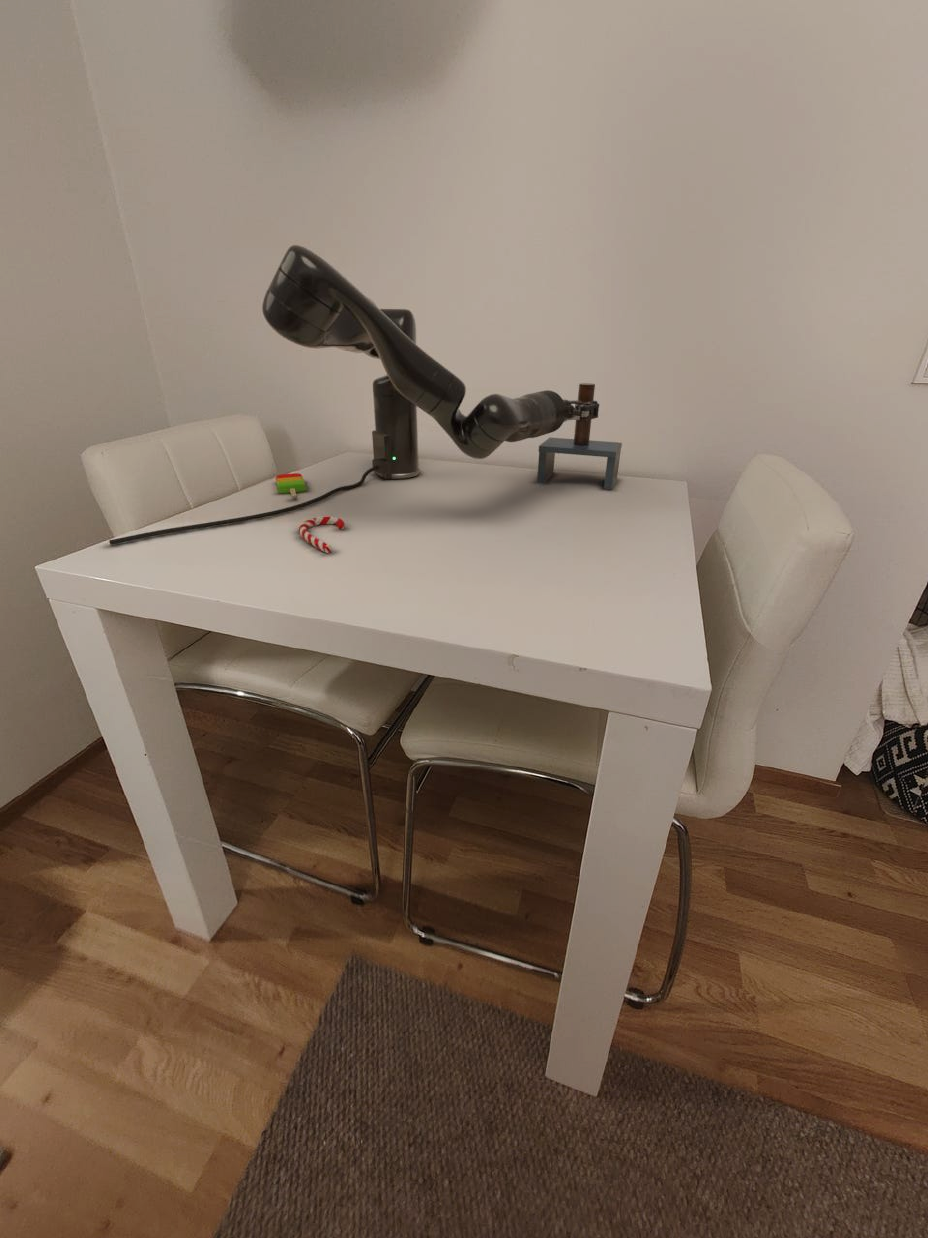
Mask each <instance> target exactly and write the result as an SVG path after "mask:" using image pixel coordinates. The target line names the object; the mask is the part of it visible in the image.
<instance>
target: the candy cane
mask: <svg viewBox="0 0 928 1238" xmlns="http://www.w3.org/2000/svg"><path fill="white" fill-rule="evenodd" d="M321 525H336V526H337V528H338V529H339V530H344V529H345V527H346V524H345V522H344V520H343V519H342V518H339V517H334V516H319V517H313V518H310V519H307V520H305V521H303V522H302V523H301V524H300V525H299V526H298V534H299V536H300V537H301V538H302V539H303V540H304V541H305V542H306V543H308V544H310V545H311V546H312V547H315V548H316V549H317V550H319V551H321V552H323V553H327V554H330V553H331V552H332V546H331V545H330V544H328V543H326V542H324V541H323V540H320V539H319V538H317V537H316V536H314V535H313V534H311V533H310V532H308V531H307V530H308V529H310V528H312V527H316V526H321Z"/></svg>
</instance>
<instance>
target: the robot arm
mask: <svg viewBox="0 0 928 1238" xmlns="http://www.w3.org/2000/svg"><path fill="white" fill-rule="evenodd" d="M261 310H262V311H261V312H262V315H263V317H264V320H265V321H266V323H267V324H268V325H269V326H270V328H271V329H272V330H273V331H275V332H276V333H277V334H278V335H279V336H281V337H282V338H283V339H285V340H287V341H289V342H291V343H293V344H296V345H298V346H301V347H304V348H307V349H328V348H329V349H330V348H336V349H340V350H343V351H346V352H350V353H356V354H362V353H363V354H364V355H367V356H368V357H369V358H373V359H377V360H380V363H381V365H382V367H383V369H384V371H385V373H386V374H384V375H382V376H379V377H376V378H375V379H373V381H372V393H373V394H372V396H373V410H374V411H373V413H374V427H375V430H372V431H371V436H372V438H371V439H372V452H373V459H372V462H371V463H372V467H371V468H369V469H367V470H366V471H365V472H364V473H363V475H362V476H361V479H360V480H359V481H358V482H356V483H354V484H351V485H349V484H348V485H344V486H339V487H336V488H334V489H331V490H330V491H327V492H326V493H324V494H322V495H320V496H317V497H315V498H313V499H310V500H307V501H305V502H302V503H299V504H295V505H292V506H287V507H284V508H279V509H276V510H271V511H267V512H261V513H257V514H252V515H251V514H250V515H247V516H240V517H235V518H228V519H222V520H214V521H209V522H203V523H197V524H196V523H195V524H190V525H184V526H178V527H177V526H176V527H171V528H163V529H159V530H153V531H148V532H143V533H137V534H133V535H128V536H124V537H119V538H113V539H109V540H108V541H109V545H110V546H113V545H118V544H123V543H128V542H132V541H137V540H143V539H146V538H152V537H156V536H157V537H158V536H162V535H168V534H173V533H180V532H187V531H192V530H199V529H205V528H212V527H219V526H224V525H230V524H236V523H241V522H247V521H252V520H258V519H263V518H267V517H268V518H269V517H272V516H277V515H281V514H284V513H289V512H292V511H295V510H298V509H301V508H304V507H308V506H311V505H313V504H315V503H318V502H321V501H322V500H325V499H327V498H328V497H330V496H332V495H334V494H336V493H339V492H342V491H346V490H352V489H355V488H358V487H360V486H361V485H362V484H364V482H365V480H366V478H367V476H368V475H370V474H371V473H372V472H374V474H375V475H377V476H379V477H381V478H384V479H386V480H391V479H392V480H394V479H395V480H396V479H397V480H399V479H400V480H401V479H410V478H414V477H416V476H419V475H420V468H419V467H420V463H419V441H418V440H419V439H418V437H419V434H418V409H420V410H421V411H423V412H424V413H426V414H427V415H429V416H430V417H431V418H433V420H435V421H436V423H437V424H438V425H439V426H440V428H442V430H443V431H444V432H445V433H446V434H447V436H449V438H450V439H451V440H452V442H453V443H454V444H455V445H456V447H457V448H458V449H459V450H460V451H461V452H462V453H463V454H464V455H466V456H467V457H469V458H472V459H476V460H483V459H486V458H488V457H489V456H491V455H492V454H493V453H494V452H495V451H496V450H497V449H499V447H500V446H501V445H502V444H503V443H504V442H507V443H517V442H521V441H524V440H527V439H535V438H538V437H541V436H545V435H548V434H551V433H554V432H556V431H557V430H559V429H560V428H561V427H562V425H563V424H564V423H565V422H567V421H576V420H579V421H582V422H584V421H587V420H591V421H592V420H595V419H597V418H599V410H600V403H598V401H597V400H593V401H590V402H584V403H582V401H579V400H578V399H566V398H562V397H561V395H560V394H559V393H557V392H556V391H553V390H547V389H546V390H541V391H537V392H532V393H527V394H523V395H521V396H519V397H516V398H511V397H509V396H505V395H502V394H500V393H492V394H489V395H487V396H485V397H484V398H482V399H481V400H480V401H479V402H478V403H477V404H476V405H475V407H474V408H473V409H472V410H471V411H470V412H469V413H468V414H467V415H465V414H463V412H462V411H461V410H460V407H461V405H462V404H463V401H464V399H465V396H466V392H467V387H466V384H465V382H464V381H463V379H461V378H459V376H458V375H456V374H455V373H453V372H452V371H451V370H449V369H448V368H446V367H445V366H444V365H443V364H442V363H440V362H439V361H437V360H436V359H435V358H434V357H432V356H431V355H430V354H428V353H427V352H426V351H425V350H424V349H422V348H421V347H420V346H419V345H418V344H417V324H416V319H415V315H414V314H413V312H412V311H411V310H409V309H407V308H379V307H378V305H377V304H376V303H375V302H374V301H373V300H372V299H370V298H369V297H368V296H366V295H365V294H364V293H363V292H362V291H361V290H360V289H359V288H357V287H356V286H355V285H354V284H353V283H352V282H351V281H350V280H348V278H347V277H346V276H344V275H343V274H342V273H341V272H340V271H339V270H337V269H336V268H335V267H334V266H333V265H331V264H330V263H329V262H328V261H326V260H325V259H324V258H322V257H321V256H320V255H318V254H317V253H315V252H314V251H312V250H310V249H308V248H307V247H305V246H302V245H298V244H293V245H290V246H289V247H288V248H287V250H286V251H285V254H284V255H283V257H282V259H281V261H280V263H279V265H278V267H277V269H276V271H275V274H274V275H273V277H272V279H271V282H270V284H269V285H268V288H267V290H266V291H265V294H264V297H263V300H262V305H261Z"/></svg>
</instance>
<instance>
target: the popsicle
mask: <svg viewBox="0 0 928 1238" xmlns="http://www.w3.org/2000/svg"><path fill="white" fill-rule="evenodd" d="M275 483H276V487H277V492H278V494H290V496H291V498H297V496H298V495H297V493H305V492H306V491H307V486H306V482H305V480H304V477H303V475H302V474H301V473H299V472H298V473H297V472H294V473H281V474H277V475H276V476H275Z"/></svg>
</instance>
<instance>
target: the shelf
mask: <svg viewBox="0 0 928 1238" xmlns="http://www.w3.org/2000/svg"><path fill="white" fill-rule="evenodd" d="M622 447H623V442H617V441H602V440H590V439H589V445H587V446H578V445H574V438H564V437H563V438H562V437H548V438H547V439H545V440H544V441H543V442H541V444H539V445H538V463H537V464H538V465H537V479H536V482H537V484H545V483H546V482H547V481H548V480H549V479H550V478H551V477H552V476H553V475H554V470H555V458H556V457H555V456H556V454H563V455H576V456H589V457H599V458H600V457H601V458H607V459H606V467H605V474H604V475H605V476H604V484H603V490H604V491H605V490H606V491H612V490H613V488H614V486H615V484H616V482H617V480H618V476H619V475H618V474H619V468H620V460H621V451H622Z"/></svg>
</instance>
